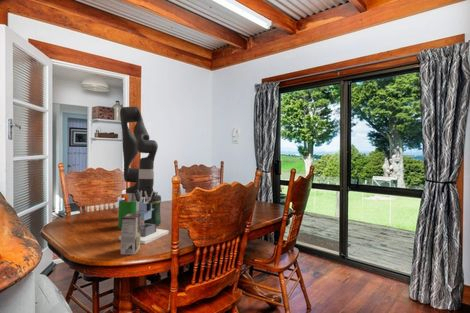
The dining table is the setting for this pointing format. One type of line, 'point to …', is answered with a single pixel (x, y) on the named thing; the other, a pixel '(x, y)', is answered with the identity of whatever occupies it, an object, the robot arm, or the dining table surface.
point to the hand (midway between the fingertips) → (145, 210)
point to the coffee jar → (155, 212)
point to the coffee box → (130, 233)
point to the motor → (125, 208)
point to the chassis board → (150, 233)
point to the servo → (144, 211)
